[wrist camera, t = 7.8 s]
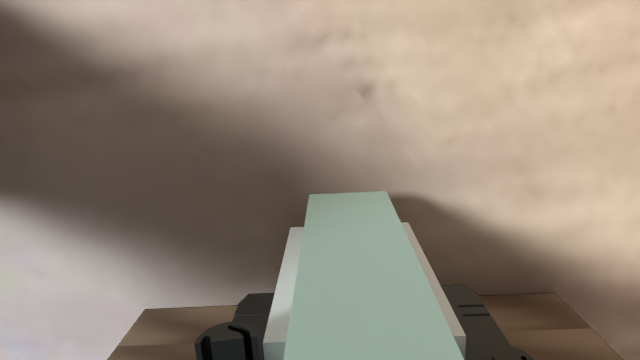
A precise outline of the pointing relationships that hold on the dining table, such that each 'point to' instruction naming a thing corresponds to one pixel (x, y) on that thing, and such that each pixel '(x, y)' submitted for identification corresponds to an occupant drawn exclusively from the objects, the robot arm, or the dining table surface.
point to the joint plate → (362, 287)
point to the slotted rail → (507, 310)
